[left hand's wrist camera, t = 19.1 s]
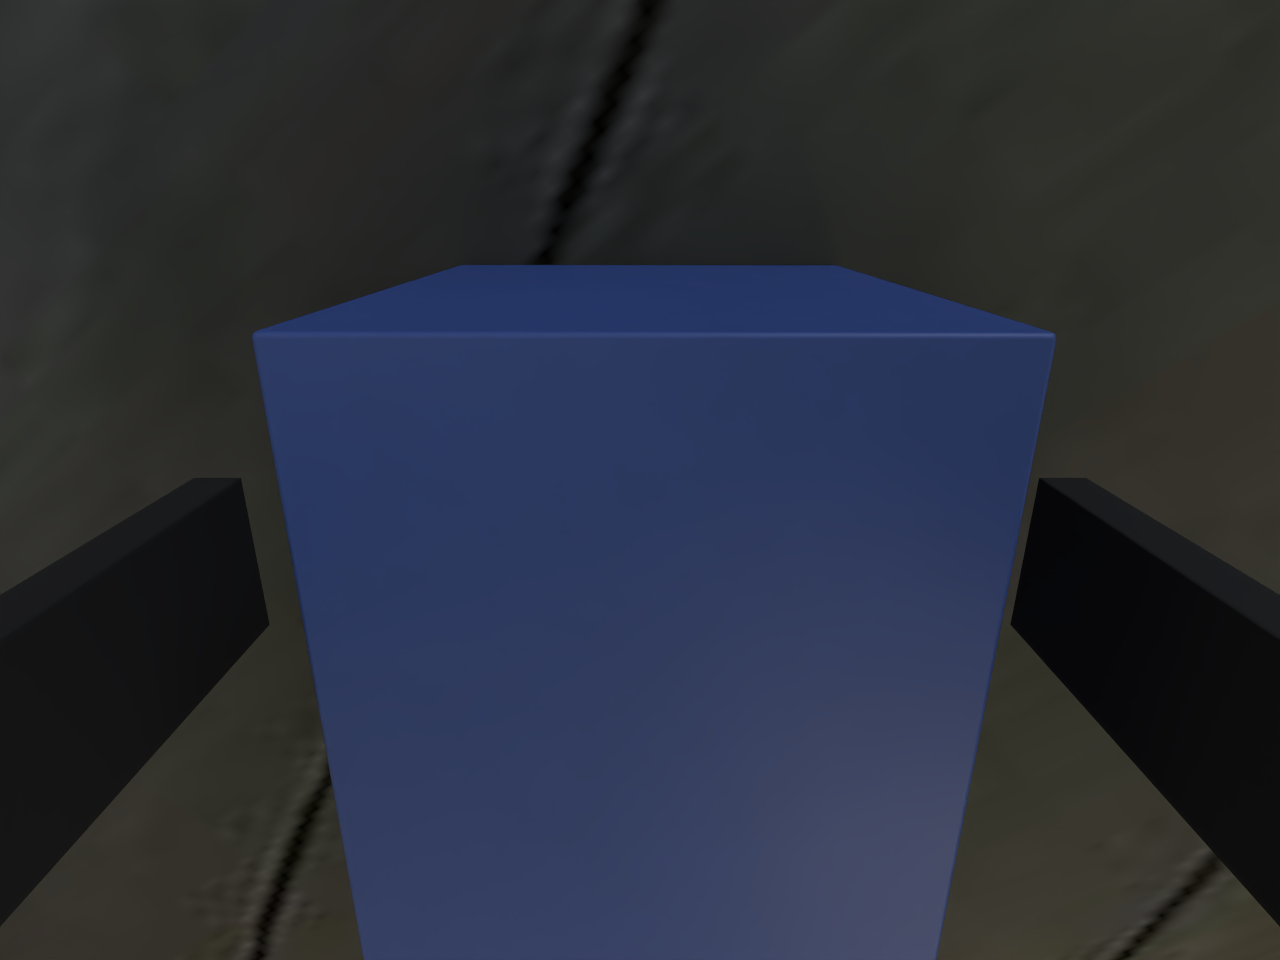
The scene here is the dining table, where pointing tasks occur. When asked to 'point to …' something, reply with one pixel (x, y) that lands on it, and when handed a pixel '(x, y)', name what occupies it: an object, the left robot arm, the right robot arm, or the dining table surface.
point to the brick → (652, 601)
